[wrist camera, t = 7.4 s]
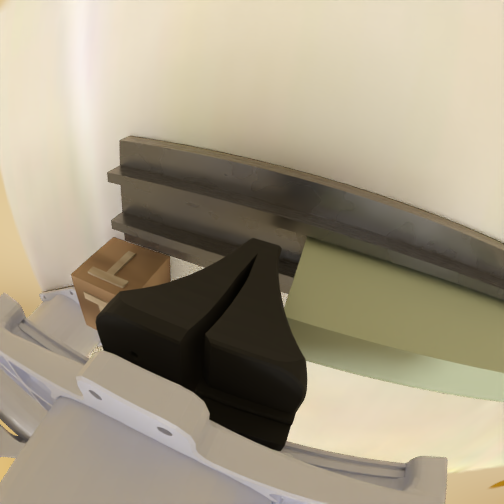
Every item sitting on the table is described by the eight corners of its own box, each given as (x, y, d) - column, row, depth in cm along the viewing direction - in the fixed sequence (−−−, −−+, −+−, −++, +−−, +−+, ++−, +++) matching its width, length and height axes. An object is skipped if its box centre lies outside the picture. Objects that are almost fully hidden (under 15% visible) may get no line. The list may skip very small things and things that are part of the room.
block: (172, 306, 24) (139, 352, 20) (121, 286, 25) (85, 325, 21) (170, 254, 21) (128, 300, 17) (113, 234, 22) (69, 273, 18)
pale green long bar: (299, 263, 17) (270, 349, 12) (308, 232, 15) (281, 315, 11) (503, 326, 14) (525, 404, 9) (520, 302, 13) (549, 381, 8)
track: (133, 232, 21) (114, 249, 19) (129, 135, 17) (106, 145, 15) (483, 339, 17) (489, 362, 15) (538, 260, 13) (551, 281, 11)
